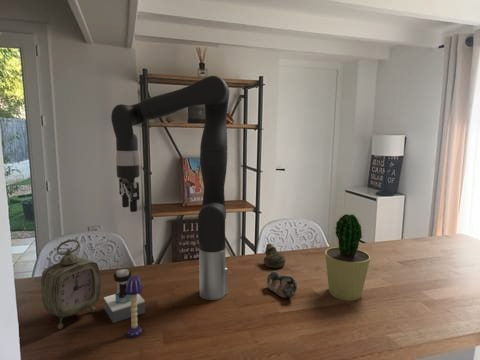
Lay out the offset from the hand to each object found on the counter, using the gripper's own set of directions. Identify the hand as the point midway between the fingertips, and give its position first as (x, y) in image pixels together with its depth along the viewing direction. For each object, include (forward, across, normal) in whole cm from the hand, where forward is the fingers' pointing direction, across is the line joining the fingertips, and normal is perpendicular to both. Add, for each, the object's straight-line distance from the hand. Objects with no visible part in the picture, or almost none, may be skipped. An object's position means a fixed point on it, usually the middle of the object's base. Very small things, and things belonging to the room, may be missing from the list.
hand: (129, 209), depth 116 cm
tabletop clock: (+30, -8, +21) cm, 38 cm away
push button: (+26, -14, +7) cm, 31 cm away
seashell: (+30, -15, -57) cm, 66 cm away
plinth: (+30, -13, +7) cm, 34 cm away
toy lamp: (+30, -27, +8) cm, 41 cm away
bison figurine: (+30, -34, -42) cm, 62 cm away
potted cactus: (+30, -47, -62) cm, 83 cm away
